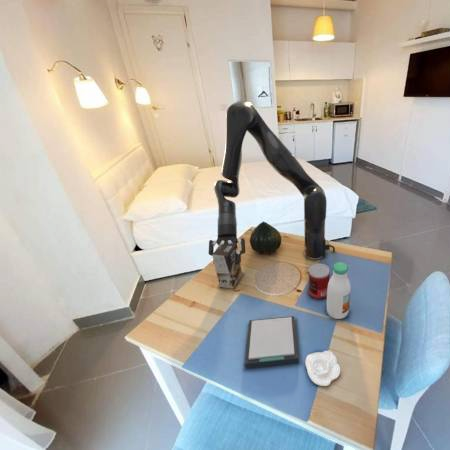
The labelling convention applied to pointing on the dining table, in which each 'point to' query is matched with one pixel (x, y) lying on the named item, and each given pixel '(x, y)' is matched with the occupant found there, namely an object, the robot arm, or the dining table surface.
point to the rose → (322, 367)
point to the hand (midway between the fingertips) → (227, 265)
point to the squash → (265, 239)
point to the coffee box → (227, 265)
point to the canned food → (318, 280)
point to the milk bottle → (338, 292)
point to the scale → (271, 342)
